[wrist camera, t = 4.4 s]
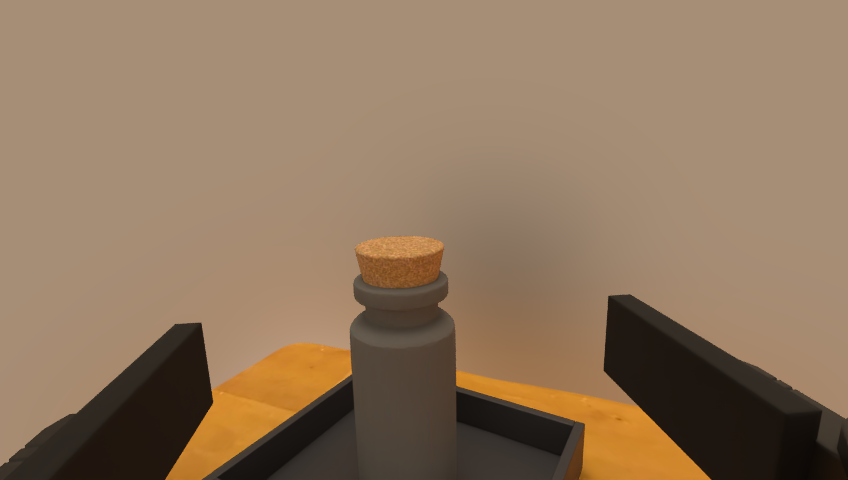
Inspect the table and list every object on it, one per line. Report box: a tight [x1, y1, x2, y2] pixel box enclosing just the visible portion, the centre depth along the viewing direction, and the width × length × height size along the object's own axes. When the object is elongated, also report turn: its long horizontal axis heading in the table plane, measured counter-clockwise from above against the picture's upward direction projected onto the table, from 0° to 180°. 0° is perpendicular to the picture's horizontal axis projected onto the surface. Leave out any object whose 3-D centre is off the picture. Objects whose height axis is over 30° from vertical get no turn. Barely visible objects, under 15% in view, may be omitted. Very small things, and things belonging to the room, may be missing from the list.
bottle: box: [350, 236, 457, 480], centre depth 25 cm, size 6×6×15 cm
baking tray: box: [202, 375, 585, 480], centre depth 27 cm, size 17×15×3 cm
